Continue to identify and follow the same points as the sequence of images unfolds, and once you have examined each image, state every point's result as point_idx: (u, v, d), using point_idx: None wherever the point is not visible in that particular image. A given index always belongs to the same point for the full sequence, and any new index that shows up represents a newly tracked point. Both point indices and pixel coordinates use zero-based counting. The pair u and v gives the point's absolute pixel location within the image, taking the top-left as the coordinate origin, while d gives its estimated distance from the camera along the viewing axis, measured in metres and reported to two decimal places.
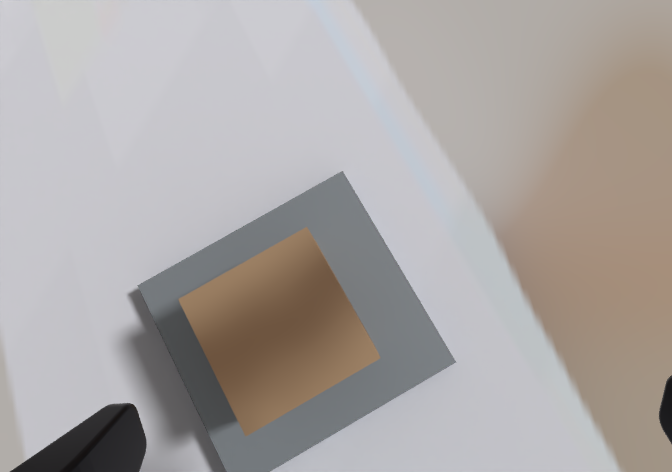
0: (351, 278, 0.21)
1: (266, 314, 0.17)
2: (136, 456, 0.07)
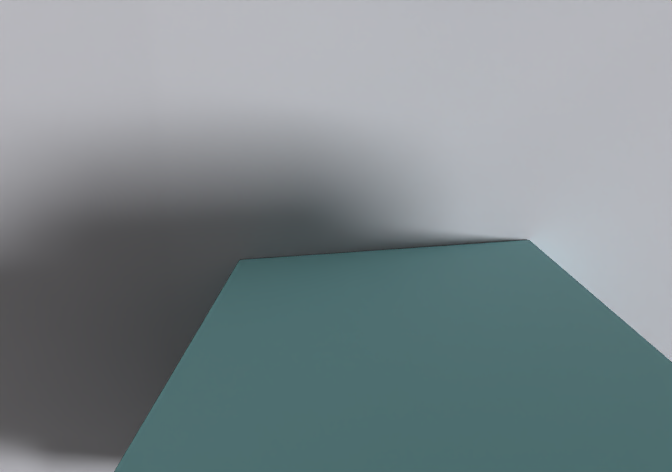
0: None
1: None
2: None
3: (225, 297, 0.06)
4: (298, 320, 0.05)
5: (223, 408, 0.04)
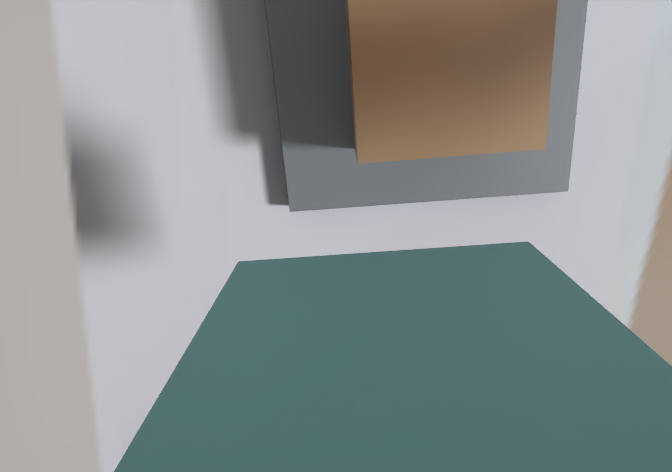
0: None
1: (447, 30, 0.12)
2: None
3: (224, 299, 0.06)
4: (297, 324, 0.05)
5: (221, 412, 0.04)
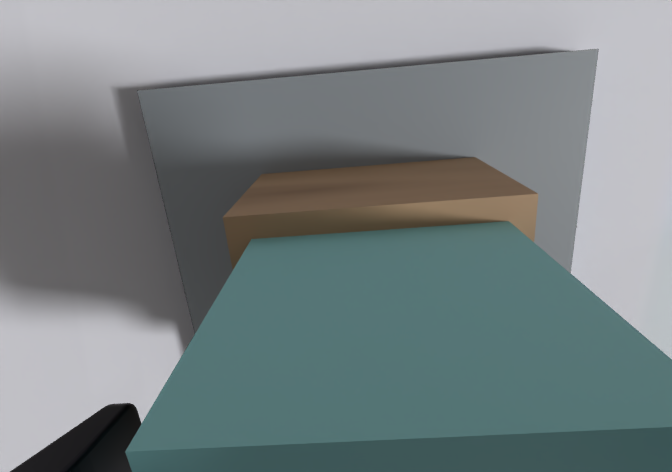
0: None
1: None
2: None
3: (241, 268, 0.07)
4: (306, 284, 0.06)
5: (247, 346, 0.05)
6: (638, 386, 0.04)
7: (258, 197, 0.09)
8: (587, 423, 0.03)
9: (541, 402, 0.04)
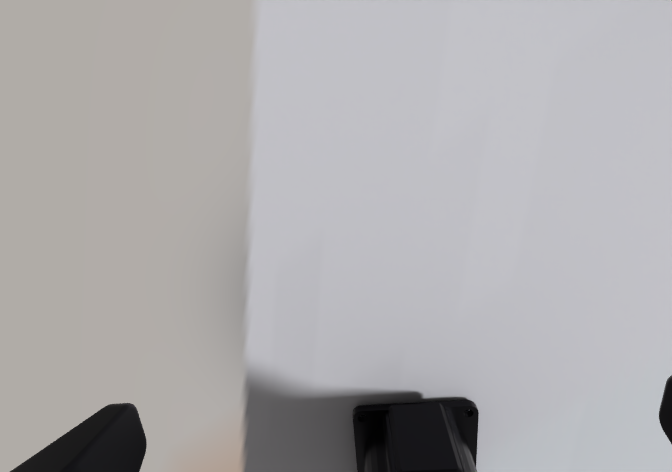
0: None
1: None
2: (136, 456, 0.07)
3: None
4: None
5: None
6: None
7: None
8: None
9: None
